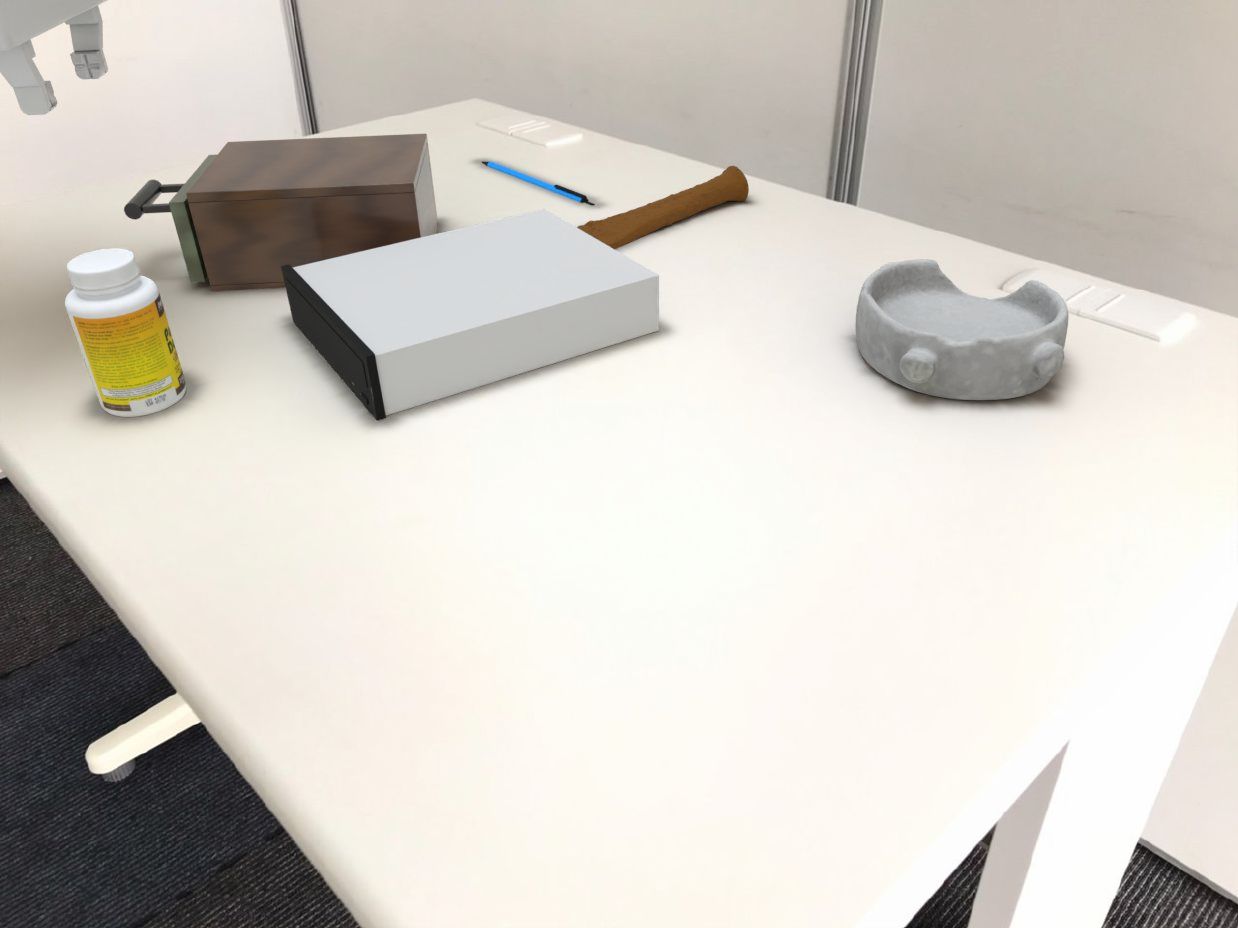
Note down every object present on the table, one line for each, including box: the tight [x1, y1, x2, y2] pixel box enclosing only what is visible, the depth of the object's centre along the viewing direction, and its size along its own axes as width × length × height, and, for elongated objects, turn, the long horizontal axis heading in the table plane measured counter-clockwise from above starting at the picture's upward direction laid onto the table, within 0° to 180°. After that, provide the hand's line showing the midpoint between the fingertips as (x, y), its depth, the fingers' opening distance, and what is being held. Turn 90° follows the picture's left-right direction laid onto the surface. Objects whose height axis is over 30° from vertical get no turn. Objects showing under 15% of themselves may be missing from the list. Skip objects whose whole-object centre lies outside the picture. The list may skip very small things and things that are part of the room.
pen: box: [481, 160, 596, 207], centre depth 104 cm, size 1×19×1 cm, turn 42°
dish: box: [855, 258, 1070, 401], centre depth 70 cm, size 14×14×5 cm
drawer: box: [123, 153, 218, 284], centre depth 87 cm, size 21×12×7 cm, turn 95°
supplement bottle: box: [64, 247, 187, 418], centre depth 66 cm, size 6×6×10 cm
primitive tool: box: [576, 165, 750, 250], centre depth 94 cm, size 19×6×4 cm, turn 130°
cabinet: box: [186, 133, 439, 292], centre depth 87 cm, size 18×14×9 cm
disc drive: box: [281, 208, 660, 421], centre depth 75 cm, size 18×22×5 cm
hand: (69, 93), depth 70 cm, fingers open, 8 cm apart
